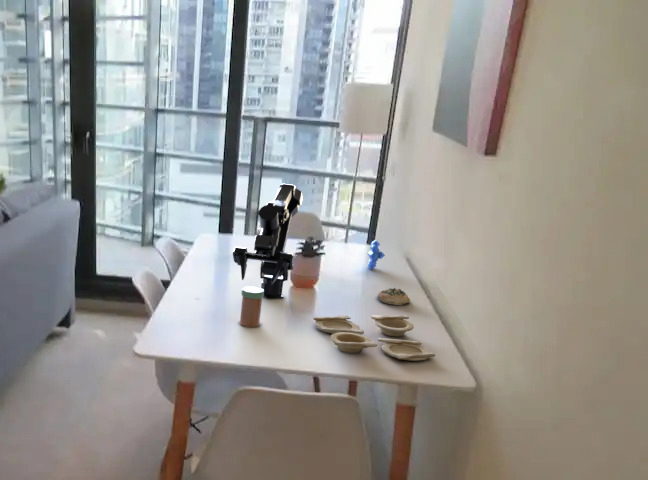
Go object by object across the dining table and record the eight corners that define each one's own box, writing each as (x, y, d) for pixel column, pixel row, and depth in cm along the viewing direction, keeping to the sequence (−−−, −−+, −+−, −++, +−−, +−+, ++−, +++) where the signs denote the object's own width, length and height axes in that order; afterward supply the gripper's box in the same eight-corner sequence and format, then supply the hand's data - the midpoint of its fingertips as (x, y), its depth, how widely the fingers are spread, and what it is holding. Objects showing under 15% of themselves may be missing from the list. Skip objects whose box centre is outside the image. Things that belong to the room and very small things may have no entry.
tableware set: (310, 319, 228) (311, 307, 226) (402, 323, 228) (404, 311, 226) (332, 360, 196) (334, 346, 194) (440, 366, 196) (443, 352, 194)
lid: (239, 297, 216) (240, 291, 215) (242, 291, 222) (243, 285, 221) (262, 299, 214) (262, 293, 213) (264, 293, 220) (265, 287, 219)
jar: (254, 320, 225) (257, 287, 221) (262, 326, 219) (266, 293, 215) (236, 321, 223) (239, 288, 219) (244, 327, 218) (247, 294, 214)
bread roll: (382, 293, 258) (386, 280, 256) (412, 303, 253) (416, 290, 250) (371, 301, 250) (375, 288, 247) (402, 312, 245) (406, 299, 242)
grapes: (381, 273, 286) (386, 243, 281) (363, 271, 288) (368, 241, 283) (383, 266, 296) (388, 237, 291) (366, 264, 298) (371, 236, 293)
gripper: (236, 220, 222) (224, 263, 216) (297, 227, 216) (286, 271, 211) (240, 241, 232) (228, 282, 226) (298, 248, 226) (287, 290, 221)
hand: (257, 281), depth 221 cm, fingers open, 9 cm apart
